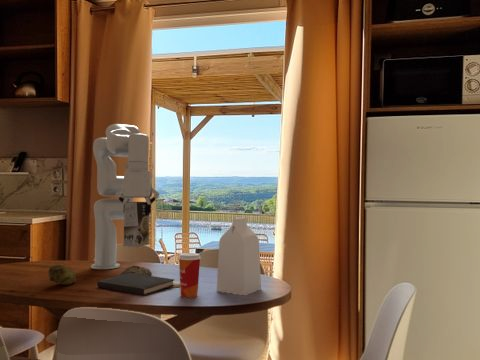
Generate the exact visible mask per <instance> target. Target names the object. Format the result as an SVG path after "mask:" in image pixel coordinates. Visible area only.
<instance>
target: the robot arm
mask: <svg viewBox="0 0 480 360" xmlns="http://www.w3.org/2000/svg"><path fill="white" fill-rule="evenodd" d="M149 139H150V138H149V135H148V134H144V133H141V131H140V129H139V128H138V127H137V126H136V125H131V124H121V123H113V124H110V125H109V126H107V127H106V129H105V136H104V137H103V136H102V137H98V138H96V139H94V141H93V144H92V151H93V156H94V159H95V162H96V166H97V167H96V168H97V171H96V173H97V174H96V176H97V177H96V179H97V180H96V183H97V185H96V186H97V187H96V190H97V192H98V194H99V195H100V196H103V197H117V198H102V199H98V200H96V201H95V202H94V204H93V213H94V223H95V225H94V226H95V227H94V228H95V229H94V231H95V236H94V239H95V240H94V263H92V264H91V265H90V268H91V269H93V270H111V269H117V268H120V263H118V262H117V243H118V242H117V240H118V238H117V237H118V233H117V231H118V229H117V227H116V225H115V224H114V222H113V220H124V207H125V202H134V201H133V200H134V198H144V199H145V202H147V205H146V215H147V216H148V215H149V213H150V214H152V204H153V203H154V202H155V201H157V199H158V197H159V196H160V194H161V193H159V192H158V191H157V190H156V189H155V188H154V187H153V184H152V175H151V171H150V170H149V157H150V156H149V155H150V154H149V148H150V147H149V146H150V141H149ZM111 157H115V158H117V157H120V158H127V163H124V164H123V168H126V169H127V170H125V171H124V175H117V164H116V162H115V161H114V160H113V158H111ZM152 195H154V196H152Z"/></svg>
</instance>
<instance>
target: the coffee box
mask: <svg viewBox="0 0 480 360" xmlns="http://www.w3.org/2000/svg"><path fill="white" fill-rule="evenodd" d="M146 205H147V202H146V201H133V202H125V207H124V219H123V243H122V244H123V245H122V246H123V247H127V248H128V247H129V248H132V247H134V248H140V247H144V246H148V245H150V215H151V213H149V215H148V216H147V215H146Z"/></svg>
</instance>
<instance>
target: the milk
mask: <svg viewBox="0 0 480 360" xmlns="http://www.w3.org/2000/svg"><path fill="white" fill-rule="evenodd" d="M246 219H247V218H246V217H235V218H233V219H232V220H233V221H232V224H231V227H229V229H227V230H226V231H225V233H223V234H222V235H221V237H220V238H219V241H218V242H219V243H218V259H217V273H216V275H217V277H216V292H217V291H222V292H221V293H224V292H227V293H226V294H230V293H233V294H232V295H236V294H239V295H238V296H242V295H245V296H247V295H249V293H250V294H252V292H253V293H255V292H258V291H260V290H261V289H262V277H261V275H262V274H261V256H260V254H261V253H260V239H259V236H258V235H257V234H256V233H255V232H254V231H253V230H252V229H251V228H250V226H248V224H247V220H246ZM257 290H258V291H257Z"/></svg>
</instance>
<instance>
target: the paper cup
mask: <svg viewBox="0 0 480 360" xmlns="http://www.w3.org/2000/svg"><path fill="white" fill-rule="evenodd" d="M177 259H178V261H179V262H178V263H179V282H180V287H179V289H180V290H179V291H180V297H181V296H182V298H185V297H186V299H187V298H188V299H190V298H189V297H192V298H195V297H198V292H199V278H200V262H201V259H202V257H201V255H200V253H197V252H196V253H195V252H185V253H179V256H178V258H177Z"/></svg>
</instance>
